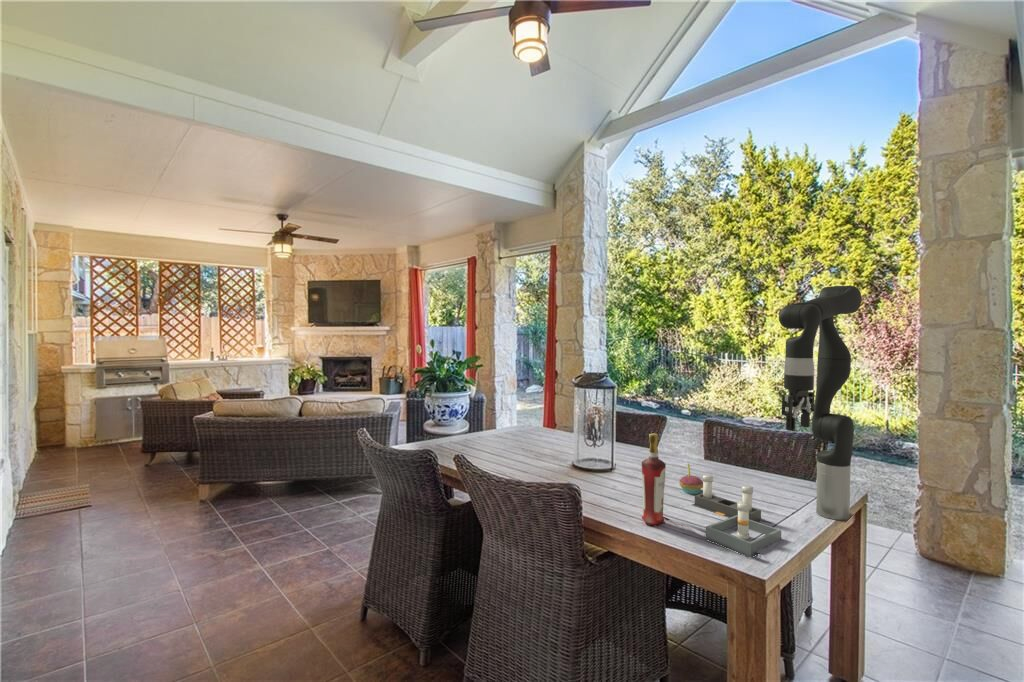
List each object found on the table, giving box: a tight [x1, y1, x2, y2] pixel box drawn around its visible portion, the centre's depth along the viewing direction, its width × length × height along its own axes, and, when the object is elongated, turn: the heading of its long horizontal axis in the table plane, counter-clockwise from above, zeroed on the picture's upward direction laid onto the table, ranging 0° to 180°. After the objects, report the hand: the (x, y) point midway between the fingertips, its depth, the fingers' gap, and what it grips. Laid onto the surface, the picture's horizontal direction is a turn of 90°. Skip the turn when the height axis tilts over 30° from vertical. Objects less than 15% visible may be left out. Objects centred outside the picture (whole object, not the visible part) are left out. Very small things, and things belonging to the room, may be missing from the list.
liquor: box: [641, 433, 667, 526], centre depth 156 cm, size 7×7×28 cm
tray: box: [705, 515, 782, 558], centre depth 142 cm, size 16×14×4 cm
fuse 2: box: [741, 485, 754, 513], centre depth 155 cm, size 3×3×10 cm
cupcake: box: [678, 462, 703, 495], centre depth 181 cm, size 9×8×12 cm
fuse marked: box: [736, 501, 750, 540], centre depth 142 cm, size 3×3×10 cm
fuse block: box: [691, 492, 765, 523], centre depth 161 cm, size 8×21×4 cm, turn 34°
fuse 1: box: [702, 474, 714, 500], centre depth 167 cm, size 3×3×10 cm
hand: (798, 428), depth 144 cm, fingers open, 8 cm apart
